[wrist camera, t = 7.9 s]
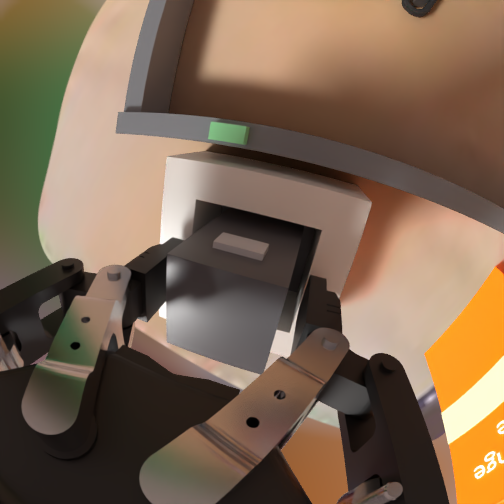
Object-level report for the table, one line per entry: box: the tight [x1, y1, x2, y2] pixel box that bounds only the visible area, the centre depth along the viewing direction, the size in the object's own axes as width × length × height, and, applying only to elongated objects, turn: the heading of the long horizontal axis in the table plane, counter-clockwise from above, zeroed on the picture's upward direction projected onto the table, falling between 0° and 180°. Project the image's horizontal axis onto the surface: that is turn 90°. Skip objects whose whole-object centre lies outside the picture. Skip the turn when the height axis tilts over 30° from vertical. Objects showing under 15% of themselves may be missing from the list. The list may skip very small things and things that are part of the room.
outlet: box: [159, 151, 372, 357], centre depth 15 cm, size 9×9×4 cm
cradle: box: [116, 0, 504, 234], centre depth 9 cm, size 33×11×4 cm, turn 80°
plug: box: [166, 207, 305, 374], centre depth 13 cm, size 4×4×8 cm
